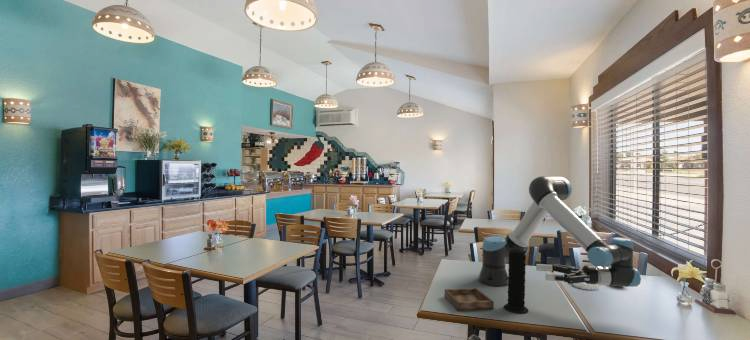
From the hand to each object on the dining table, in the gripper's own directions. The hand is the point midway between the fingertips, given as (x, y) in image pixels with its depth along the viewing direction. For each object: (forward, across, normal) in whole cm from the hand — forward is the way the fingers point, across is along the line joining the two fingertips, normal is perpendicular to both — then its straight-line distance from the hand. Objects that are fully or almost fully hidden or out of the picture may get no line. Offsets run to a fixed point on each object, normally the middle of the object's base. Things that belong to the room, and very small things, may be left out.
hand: (540, 271), depth 147 cm
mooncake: (-32, -39, +17) cm, 54 cm away
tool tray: (+30, -2, +17) cm, 34 cm away
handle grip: (+10, 0, +17) cm, 20 cm away
